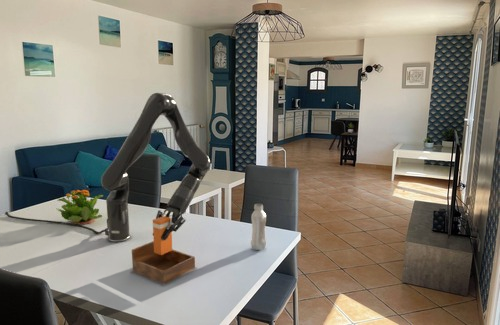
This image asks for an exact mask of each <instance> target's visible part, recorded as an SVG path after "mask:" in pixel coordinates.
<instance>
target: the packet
mask: <svg viewBox="0 0 500 325" xmlns="http://www.w3.org/2000/svg"><path fill="white" fill-rule="evenodd" d="M170 219H171V218H169V217H166V216H163V217H160V218H157V219H156V218H153V219H152V231H153V232H152V236H153V241H154V253H157V254H159V255H163V254H165V253H167V252H169V251H172V249H173V234H172V232H173V231H172V232H171V233H170V234H169V236H168V238H167V239H166V240H163V239H161V236H162V234H163V233H164V231H165V229H167V226H168V224H169V223H168V222H169V220H170ZM170 227H171V226H170Z"/></svg>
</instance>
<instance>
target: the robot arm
mask: <svg viewBox="0 0 500 325" xmlns="http://www.w3.org/2000/svg"><path fill="white" fill-rule="evenodd" d="M160 116H164V117H165V119H166V120H167V121H168V122H169V124H170V126H171V128H172V133H173V137H174V140H175V142H176V144H177V146H178V148H179V150H180V151H181V152H182V154H183V156H185V157H186V158H188V159H189V161H191V165H190V167H189V170H188V171H187V173H186V175H185V176H184V177H183V179H182V180H181V182H180V183H179V185H178V186H177V188H176V189H175V191H174V192H173V193H172V195H171V197H170V199H169V200H168V202H167V204H166V205H167V207H166V208H165V209H164V210H162V211H161V209H159V210H158V211H157V212H156V215H155V219H157V218H160V217H163V216H166V217H169V218H171V219H170V220H169V222H168V223H169V224H168V226H167V229H165V231H164V233H163V234H162V236H161V239H163V240H166V239H167V238H168V236H169V234H170V233H171V232H177V231H179V229H180V228H181V227H182V226H183V225H184V223H186V221H187V219H186V218H185V217H184V216H183V215H184V214H185V213H186V211H187V209H188V208H189V207H190V204H191V203H192V201H193V199H194V196H195V194H196V193H197V191H198V189H199V187H200V185H201V182H202V181H203V179H204V178H205V176H206V175H207V173H208V171H209V170H210V168H211V164H212V163H211V160H210V158H209V156H208V155H207V154H206V152H205V151H204V150H203V149H202V148H200V147H199V144H198V143H197V142H196V140H195V138H194V137H193V135H192V133H191V132H190V130H189V129H188V126H187V125H186V123H185V121H184V119H183V116H182V114H181V112H180V109H179V107H178V105H177V102H176V101H175V99H174V97H173V96H172V95H170V94H167V93H164V92H154V93H151V95H150V96H149V97H148V98H147V100H146V102H145V105H144V106H143V109H142V111H141V113H140V115H139V117H138V119H137V120H136V122H135V123H134V126H133V127H132V129H131V131H130V132H129V134H128V135H127V137H126V139H125V141H123V144H122V145H121V147H120V149H119V150H118V152H117V154H116V155H115V157H114V159H113V161H112V162H111V163H110V165H109V166H108V167H107V168H106V169H105V171H104V172H103V174H102V175H101V179H100V183H101V187H102V189H104V190H106V191H108V192H109V195H108V196H107V197H106V200H105V202H106V203H105V204H106V216H107V218H106V228H104V229H102V230H100V231H97V230H95V229H94V228H91V227H88V226H85V225H78V224H75V223H74V222H73V223H72V222H66V221H58V220H48V219H36V218H35V219H34V218H24V217H20V216H14V215H10V214H9V212H8V211H5V212H4V215H6V217H7V218H10V219H15V220H22V221H30V222H40V223H49V224H50V223H51V224H61V225H68V226H73V227H78V228H81V229H86V230H89V231H91V232H93V233H94V234H96V235H100V234H103V233H104V235H105V236H106V237H107V239H108V241H109V242H113V243H120V242H126V241H128V240H129V239H130V238H131V234H130V219H129V218H130V216H129V203H128V202H129V200H128V199H129V195H130V179H129V174H128V173H127V171H128V169H129V168H130V167H131V166H132V165H133V164H134V163H136V161H138V159H139V158H140V157H142V155H143V154H144V153H145V151H146V150H147V148H148V146H149V144H150V142H151V137H152V130H153V127H154V125H155V123H156V122H157V120H158V119H159V118H160ZM170 226H171V227H170Z"/></svg>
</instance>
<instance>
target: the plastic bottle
mask: <svg viewBox="0 0 500 325" xmlns="http://www.w3.org/2000/svg"><path fill="white" fill-rule="evenodd" d="M253 209H254V211H252V213H251V216H250V219H251V229H252V231H251V232H252V233H251V239H250V247H251V248H252V250H255V251H261V250H264V249H266V246H267V240H266V222H267V214H266V212H265V211H264V204H262V203H255V204H254V206H253Z"/></svg>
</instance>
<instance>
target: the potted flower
mask: <svg viewBox="0 0 500 325" xmlns="http://www.w3.org/2000/svg"><path fill="white" fill-rule="evenodd" d="M65 196H66V197H61V198H58V199H57V201H58V202H63V203H65V204H62V205H61V209H60V208H58V207H56V210H57V211H58V212H60V214H61V217H62V218H63V219H64V220H66V221H70V222H73V224H78V225H82V226H84V225H87V224H88V225H89V224H91V223H93V222H94V221H95V219H99V218H102V217H103V214H99V211H100V208H96V207H95V206H96V204H97V203H98V199H99V198H102V197H104V195H103V194H98V195H95V196H94V197H93V198H92V197H91V198H90V190H87V189H82V190H79V189H76V190H71V191H70V193H66V194H65ZM70 198H71V199H70ZM88 198H90V199H88Z"/></svg>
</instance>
